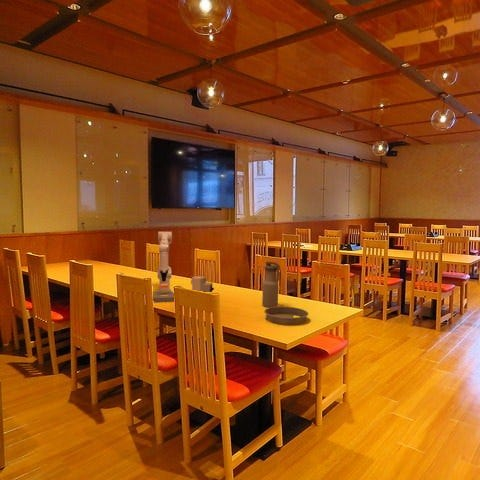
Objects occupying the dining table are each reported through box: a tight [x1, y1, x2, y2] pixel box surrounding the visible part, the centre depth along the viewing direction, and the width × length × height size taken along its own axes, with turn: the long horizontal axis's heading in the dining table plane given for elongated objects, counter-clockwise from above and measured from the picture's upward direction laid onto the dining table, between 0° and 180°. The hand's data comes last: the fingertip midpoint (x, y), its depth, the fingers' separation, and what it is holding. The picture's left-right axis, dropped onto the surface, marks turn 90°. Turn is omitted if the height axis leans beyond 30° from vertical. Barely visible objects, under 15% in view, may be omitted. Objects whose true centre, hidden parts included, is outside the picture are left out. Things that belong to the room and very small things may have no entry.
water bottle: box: [261, 260, 281, 308], centre depth 251 cm, size 10×10×28 cm
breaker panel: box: [152, 288, 175, 303], centre depth 265 cm, size 18×18×6 cm
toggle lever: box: [161, 284, 168, 294], centre depth 265 cm, size 2×5×7 cm, turn 102°
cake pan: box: [263, 305, 309, 326], centre depth 223 cm, size 25×25×4 cm
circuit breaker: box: [190, 275, 215, 293], centre depth 264 cm, size 8×14×15 cm, turn 78°
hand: (163, 281), depth 272 cm, fingers closed
